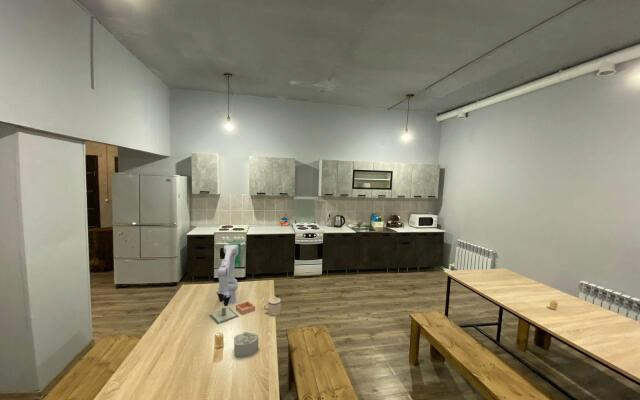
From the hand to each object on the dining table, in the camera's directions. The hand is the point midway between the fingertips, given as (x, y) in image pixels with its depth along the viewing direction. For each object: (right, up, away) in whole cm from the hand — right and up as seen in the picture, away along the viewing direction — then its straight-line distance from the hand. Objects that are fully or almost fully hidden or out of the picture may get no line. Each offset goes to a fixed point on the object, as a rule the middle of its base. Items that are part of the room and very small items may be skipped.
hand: (223, 303), depth 185 cm
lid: (0, -9, +1) cm, 9 cm away
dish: (+12, -9, +10) cm, 18 cm away
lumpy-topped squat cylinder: (+24, -14, -33) cm, 43 cm away
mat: (0, -9, +1) cm, 9 cm away
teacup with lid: (+32, -10, +8) cm, 34 cm away
